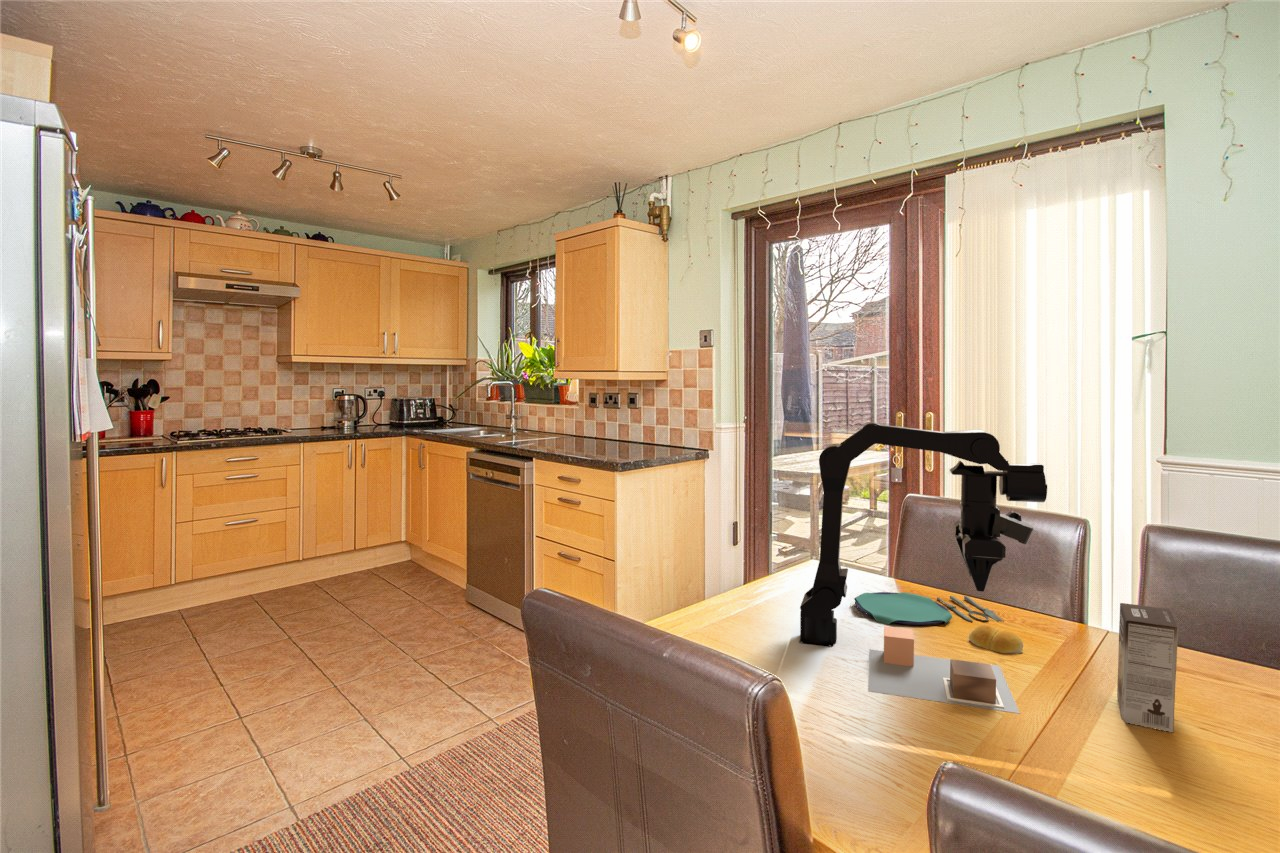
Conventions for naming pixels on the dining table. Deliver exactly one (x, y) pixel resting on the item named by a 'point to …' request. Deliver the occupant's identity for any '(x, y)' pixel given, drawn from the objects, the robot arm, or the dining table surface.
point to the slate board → (930, 682)
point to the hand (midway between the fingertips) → (976, 583)
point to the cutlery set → (913, 608)
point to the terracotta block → (898, 646)
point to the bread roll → (996, 639)
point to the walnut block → (972, 681)
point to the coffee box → (1147, 666)
